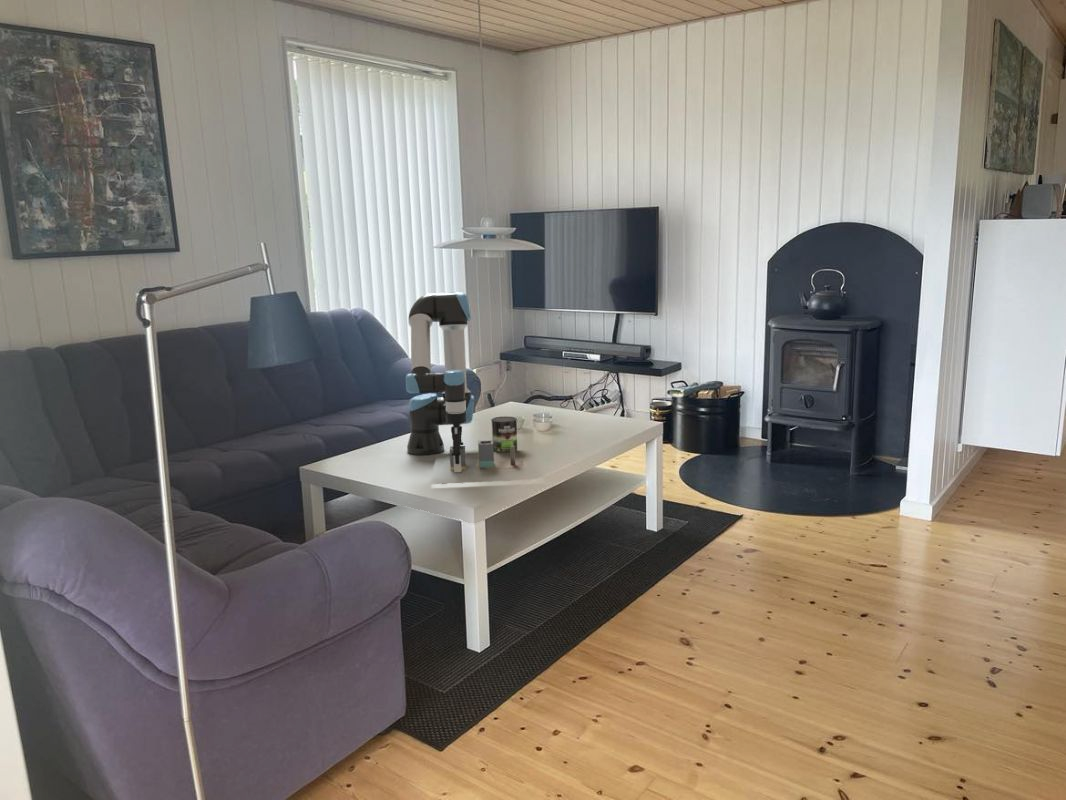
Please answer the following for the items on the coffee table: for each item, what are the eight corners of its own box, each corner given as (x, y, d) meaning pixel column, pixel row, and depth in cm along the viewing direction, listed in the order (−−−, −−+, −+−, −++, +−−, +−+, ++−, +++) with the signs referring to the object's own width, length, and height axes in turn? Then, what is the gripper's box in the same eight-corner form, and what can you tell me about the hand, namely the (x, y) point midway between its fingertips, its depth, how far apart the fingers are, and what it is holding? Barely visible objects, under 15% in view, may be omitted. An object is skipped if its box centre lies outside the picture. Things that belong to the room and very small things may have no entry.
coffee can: (520, 454, 329) (519, 420, 326) (495, 457, 326) (494, 422, 323) (514, 448, 338) (513, 415, 336) (490, 450, 336) (488, 417, 333)
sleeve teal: (479, 467, 306) (478, 444, 304) (479, 463, 311) (478, 440, 309) (494, 467, 306) (493, 443, 304) (493, 463, 311) (493, 440, 310)
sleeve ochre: (451, 469, 310) (450, 446, 308) (466, 468, 310) (465, 445, 308) (450, 473, 304) (449, 450, 303) (465, 472, 305) (464, 449, 303)
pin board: (476, 473, 304) (475, 451, 302) (476, 466, 313) (475, 444, 312) (524, 471, 305) (523, 449, 303) (523, 464, 314) (522, 442, 313)
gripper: (447, 405, 315) (449, 459, 319) (444, 419, 290) (446, 476, 294) (466, 405, 315) (468, 458, 319) (465, 418, 291) (467, 475, 295)
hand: (458, 467), depth 307 cm, fingers open, 13 cm apart
